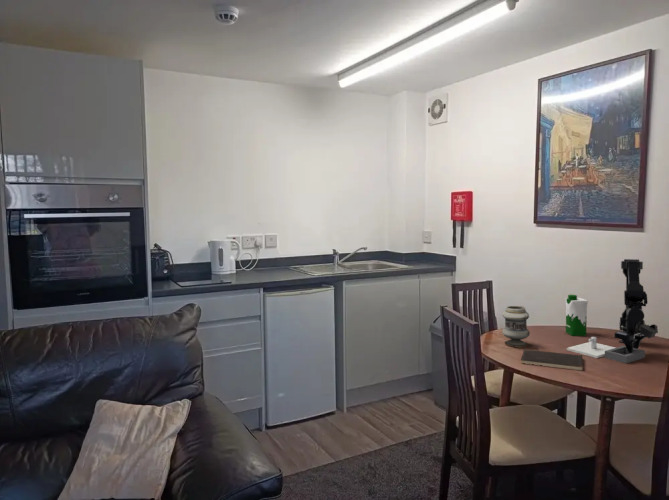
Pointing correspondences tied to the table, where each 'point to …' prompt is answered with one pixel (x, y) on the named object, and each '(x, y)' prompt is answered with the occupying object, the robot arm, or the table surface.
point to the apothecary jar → (515, 325)
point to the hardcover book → (552, 359)
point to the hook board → (591, 348)
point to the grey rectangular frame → (629, 357)
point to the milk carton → (576, 315)
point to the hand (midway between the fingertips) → (632, 352)
